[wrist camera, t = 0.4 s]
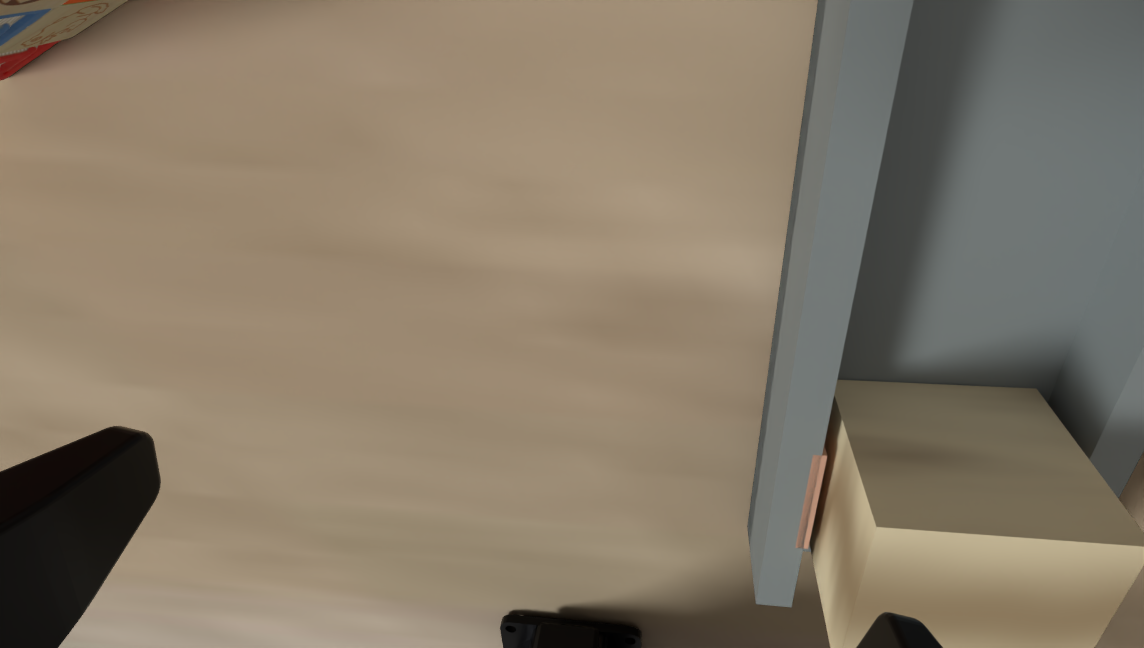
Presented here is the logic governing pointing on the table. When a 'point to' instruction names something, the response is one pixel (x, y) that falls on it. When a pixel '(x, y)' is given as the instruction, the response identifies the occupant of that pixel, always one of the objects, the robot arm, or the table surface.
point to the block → (966, 519)
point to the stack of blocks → (43, 26)
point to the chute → (958, 232)
